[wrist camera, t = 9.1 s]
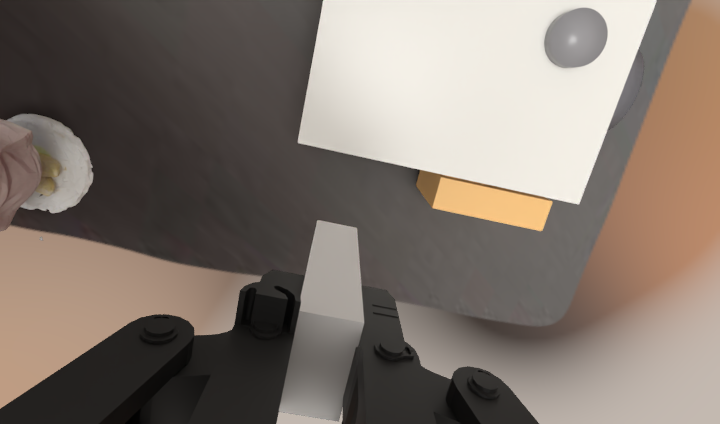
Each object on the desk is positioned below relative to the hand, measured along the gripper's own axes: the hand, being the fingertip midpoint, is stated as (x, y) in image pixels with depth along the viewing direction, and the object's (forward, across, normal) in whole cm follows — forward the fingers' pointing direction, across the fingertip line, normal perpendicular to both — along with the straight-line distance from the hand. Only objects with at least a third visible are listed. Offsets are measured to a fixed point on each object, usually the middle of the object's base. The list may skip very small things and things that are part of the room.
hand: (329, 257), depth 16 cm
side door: (+20, +11, +1) cm, 23 cm away
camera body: (+20, +7, +8) cm, 23 cm away
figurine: (+21, -24, -7) cm, 32 cm away
